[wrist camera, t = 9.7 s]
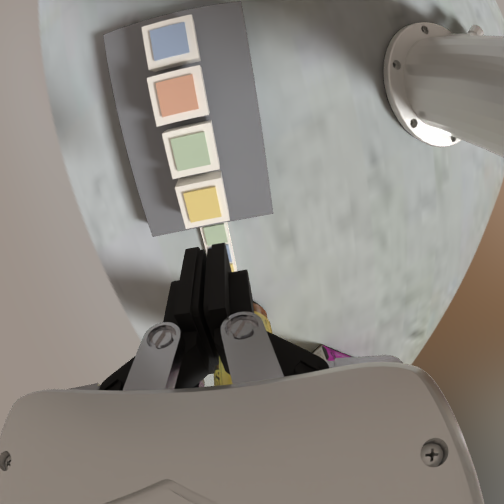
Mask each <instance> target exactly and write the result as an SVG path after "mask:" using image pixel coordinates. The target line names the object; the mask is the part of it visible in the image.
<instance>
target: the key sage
mask: <svg viewBox="0 0 504 504" xmlns="http://www.w3.org/2000/svg"><path fill="white" fill-rule="evenodd" d="M162 137H163V141H164V146H165V150H166V154H167V158H168V162H169V167H170V171H171V175H172V179H176V178H181V177H185V176H190V175H194V174H199V173H204V172H209V171H214V170H219V169H220V164H219V157H218V152H217V147H216V142H215V136H214V131H213V126H212V120H208V121H203V122H198V123H194V124H189V125H185V126H180V127H176V128H172V129H168V130H166V131H165V132H163V133H162Z"/></svg>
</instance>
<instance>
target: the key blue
mask: <svg viewBox="0 0 504 504" xmlns="http://www.w3.org/2000/svg"><path fill="white" fill-rule="evenodd" d="M141 28H142V34H143V40H144V46H145V52H146V58H147V64H148V69H149V70H150V71H153V72H157V71H161V70H165V69H168V68H172V67H177V66H181V65H185V64H190V63H194V62H199V61H201V59H200V54H199V48H198V42H197V36H196V30H195V25H194V20H193V17H192V14H191V15H186V16H181V17H177V18H173V19H169V20H165V21H161V22H157V23H154V24H150V25H147V26H143V27H141Z"/></svg>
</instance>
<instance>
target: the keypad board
mask: <svg viewBox="0 0 504 504" xmlns="http://www.w3.org/2000/svg"><path fill="white" fill-rule="evenodd" d="M191 14H192V17H193V20H194V25H195V30H196V36H197V42H198V48H199V54H200V59H201V61H199V62H194V63H190V64H185V65H181V66H177V67H172V68H168V69H165V70H161V71H157V72H153V71H150V70H149V69H148V64H147V58H146V52H145V46H144V40H143V34H142V28H141V27H143V26H147V25H150V24H154V23H157V22H161V21H165V20H169V19H173V18H177V17H181V16H186V15H191ZM103 37H104V44H105V50H106V56H107V62H108V68H109V74H110V79H111V84H112V89H113V94H114V99H115V104H116V108H117V113H118V117H119V121H120V126H121V130H122V134H123V138H124V142H125V146H126V150H127V153H128V157H129V161H130V165H131V168H132V172H133V175H134V179H135V182H136V186H137V189H138V192H139V196H140V199H141V202H142V206H143V209H144V212H145V215H146V218H147V221H148V224H149V227H150V230H151V233H152V236H153V237H155V236H159V235H164V234H169V233H174V232H179V231H184V230H189V229H194V228H199V227H204V226H209V225H214V224H219V223H224V222H230V221H235V220H241V219H246V218H251V217H257V216H263V215H268V214H273V208H272V200H271V192H270V185H269V177H268V170H267V162H266V155H265V148H264V141H263V134H262V127H261V120H260V113H259V107H258V100H257V94H256V87H255V81H254V75H253V68H252V62H251V56H250V50H249V44H248V38H247V33H246V27H245V21H244V16H243V10H242V4H241V1H238V2H229V3H222V4H215V5H209V6H203V7H198V8H193V9H188V10H183V11H179V12H174V13H170V14H166V15H162V16H158V17H155V18H151V19H148V20H144V21H141V22H138V23H135V24H132V25H129V26H126V27H123V28H120V29H117V30H114V31H112V32H109V33H106V34H104V35H103ZM197 65H200V66H201V68H202V74H203V79H204V85H205V90H206V96H207V101H208V107H209V112H210V113H209V115H205V116H201V117H196V118H191V119H187V120H182V121H178V122H174V123H170V124H166V125H162V126H158V127H157V126H156V121H155V117H154V112H153V107H152V102H151V98H150V93H149V88H148V83H147V78H148V77H152V76H156V75H159V74H163V73H167V72H171V71H175V70H179V69H183V68H188V67H192V66H197ZM208 120H212V126H213V131H214V136H215V142H216V147H217V152H218V157H219V164H220V169H219V170H221V173H222V178H223V183H224V188H225V193H226V198H227V203H228V209H229V217H230V221H224V222H219V223H214V224H209V225H204V226H199V227H194V228H189V229H186V228H185V224H184V220H183V217H182V213H181V209H180V206H179V202H178V198H177V194H176V190H175V186H176V183H177V181H178V179H180V178H176V179H172V175H171V171H170V167H169V162H168V158H167V154H166V150H165V146H164V141H163V137H162V133H163V132H165V131H166V130H168V129H172V128H176V127H180V126H185V125H189V124H194V123H198V122H203V121H208ZM214 171H218V170H214ZM209 172H213V171H209ZM204 173H208V172H204ZM199 174H203V173H199ZM199 174H194V175H199ZM194 175H190V176H194ZM185 177H189V176H185ZM185 177H181V178H185Z"/></svg>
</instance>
